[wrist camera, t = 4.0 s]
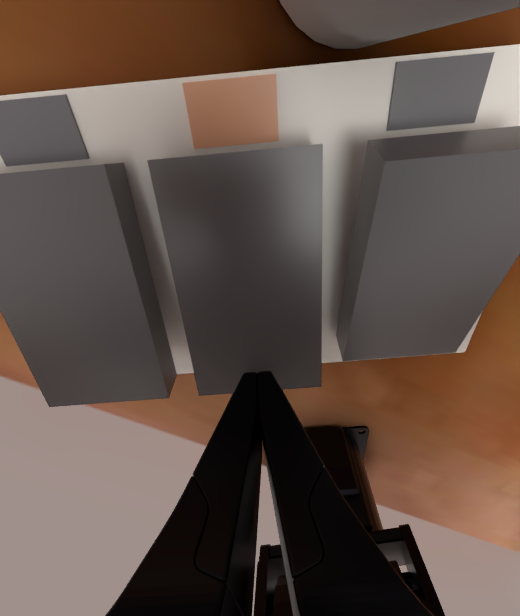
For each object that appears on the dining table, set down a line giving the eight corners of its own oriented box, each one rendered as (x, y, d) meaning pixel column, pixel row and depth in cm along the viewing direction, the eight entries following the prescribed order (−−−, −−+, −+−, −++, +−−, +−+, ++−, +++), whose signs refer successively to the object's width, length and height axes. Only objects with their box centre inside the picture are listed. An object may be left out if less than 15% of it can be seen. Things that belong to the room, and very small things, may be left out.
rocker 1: (176, 374, 11) (168, 397, 10) (68, 382, 11) (49, 407, 10) (124, 162, 8) (104, 164, 7) (-25, 176, 8) (-66, 180, 7)
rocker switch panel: (430, 309, 15) (467, 355, 13) (91, 336, 16) (61, 386, 13) (511, 46, 10) (608, 35, 7) (-34, 100, 10) (-133, 108, 7)
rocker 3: (440, 326, 12) (455, 352, 11) (335, 335, 12) (342, 361, 11) (550, 122, 7) (592, 142, 6) (367, 139, 7) (384, 161, 6)
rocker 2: (314, 364, 11) (321, 386, 10) (204, 372, 11) (198, 395, 10) (313, 144, 8) (322, 143, 7) (161, 158, 8) (146, 159, 7)
